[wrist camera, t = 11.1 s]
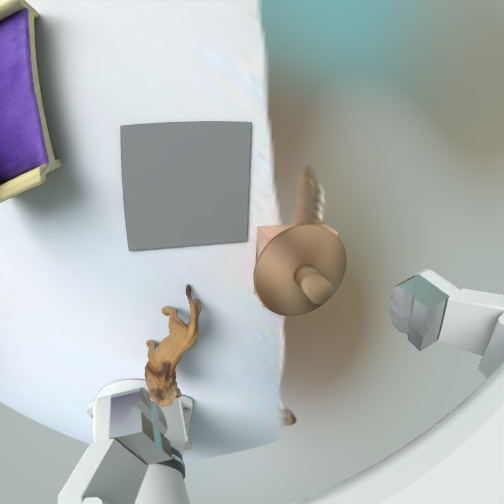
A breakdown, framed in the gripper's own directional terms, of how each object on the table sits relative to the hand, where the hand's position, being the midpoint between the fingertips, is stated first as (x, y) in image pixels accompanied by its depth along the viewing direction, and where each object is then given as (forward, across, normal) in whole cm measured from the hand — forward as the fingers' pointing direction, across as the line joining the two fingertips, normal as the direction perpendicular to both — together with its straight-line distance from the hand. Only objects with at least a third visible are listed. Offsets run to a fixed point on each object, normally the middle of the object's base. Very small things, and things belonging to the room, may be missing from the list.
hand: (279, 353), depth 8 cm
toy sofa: (+27, +16, -16) cm, 36 cm away
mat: (+27, 0, +1) cm, 27 cm away
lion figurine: (+27, +8, +18) cm, 34 cm away
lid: (+23, -10, +14) cm, 29 cm away
